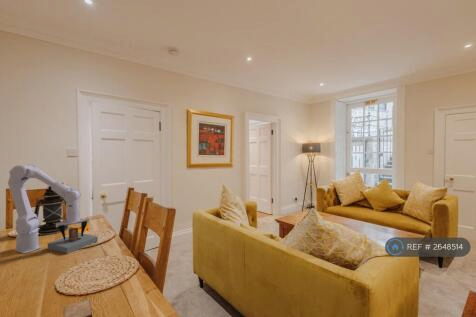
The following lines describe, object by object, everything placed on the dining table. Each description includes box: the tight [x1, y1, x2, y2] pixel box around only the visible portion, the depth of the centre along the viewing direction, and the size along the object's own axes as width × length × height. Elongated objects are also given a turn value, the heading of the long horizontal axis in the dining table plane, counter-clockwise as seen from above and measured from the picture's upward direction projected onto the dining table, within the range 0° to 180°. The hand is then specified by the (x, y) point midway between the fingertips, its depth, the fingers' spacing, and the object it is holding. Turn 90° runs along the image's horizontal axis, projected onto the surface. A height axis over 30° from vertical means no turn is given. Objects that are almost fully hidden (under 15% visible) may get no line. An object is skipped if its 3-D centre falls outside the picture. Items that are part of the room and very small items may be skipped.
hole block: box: [47, 233, 99, 255], centre depth 123 cm, size 16×16×3 cm
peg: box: [68, 227, 79, 242], centre depth 122 cm, size 4×4×9 cm
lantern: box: [33, 185, 69, 236], centre depth 145 cm, size 20×16×30 cm
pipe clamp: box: [68, 221, 90, 233], centre depth 140 cm, size 12×4×6 cm, turn 173°
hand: (73, 237), depth 122 cm, fingers open, 7 cm apart
